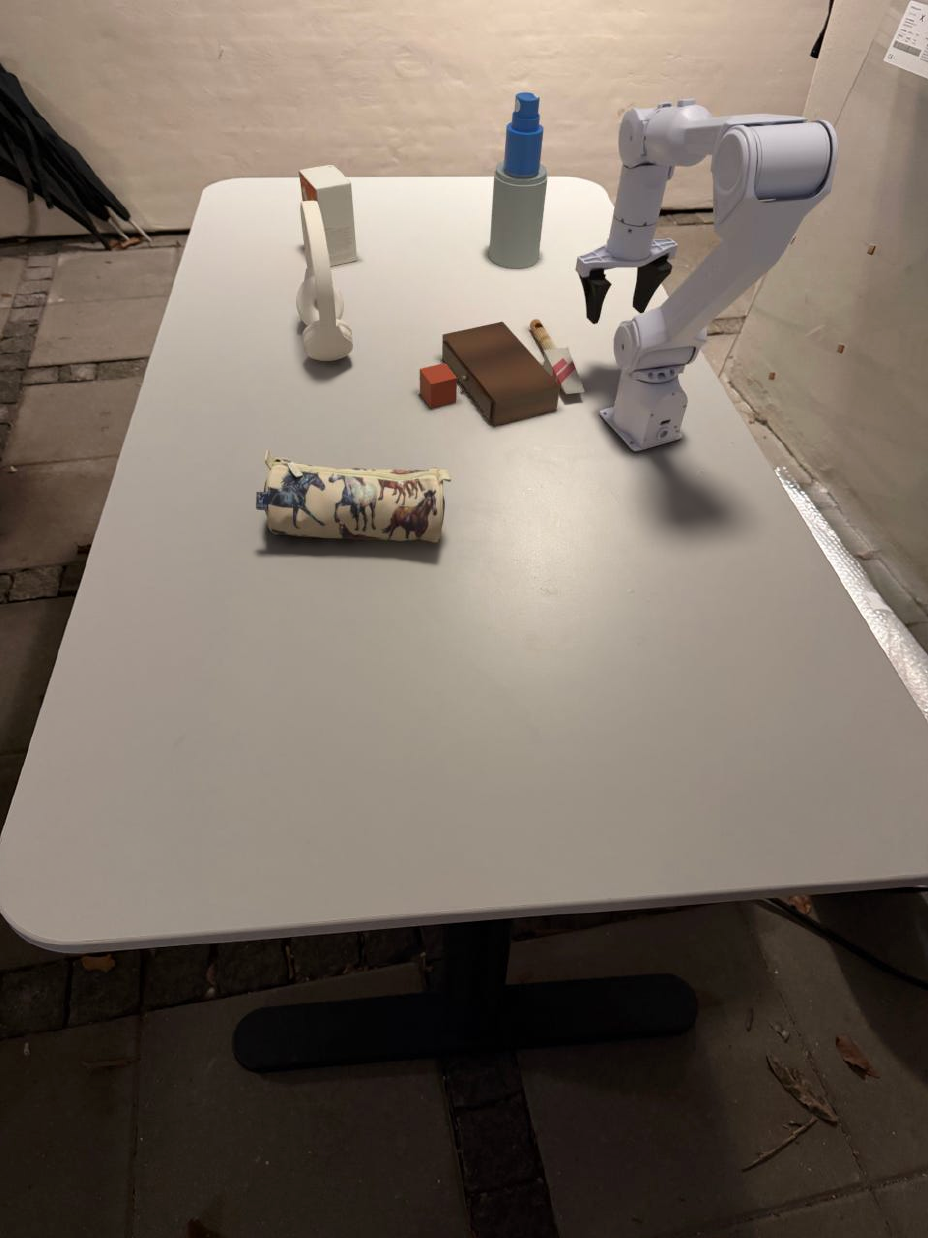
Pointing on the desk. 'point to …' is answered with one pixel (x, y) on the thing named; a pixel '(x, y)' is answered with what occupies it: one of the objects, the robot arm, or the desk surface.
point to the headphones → (320, 294)
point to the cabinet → (500, 373)
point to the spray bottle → (519, 189)
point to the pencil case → (352, 502)
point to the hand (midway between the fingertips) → (615, 314)
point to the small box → (332, 209)
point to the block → (438, 385)
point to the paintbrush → (557, 361)
